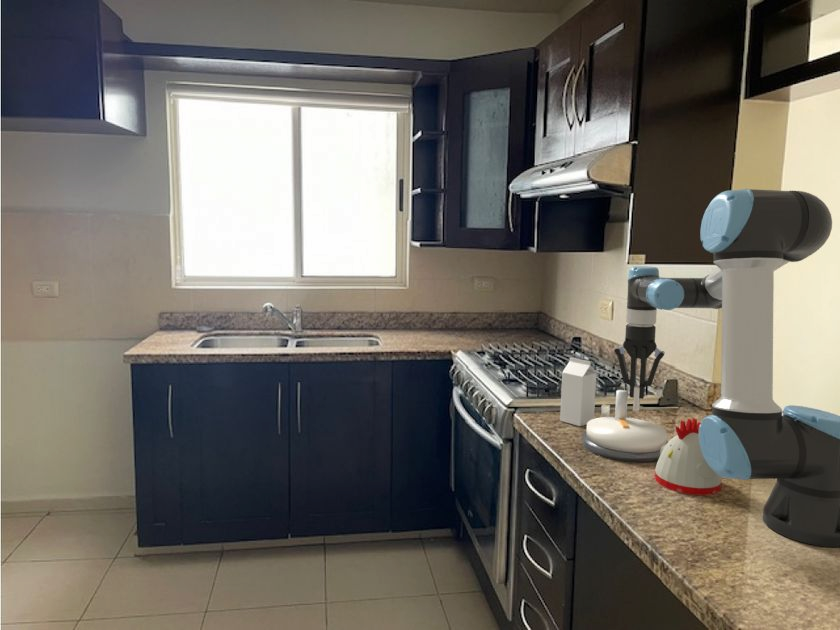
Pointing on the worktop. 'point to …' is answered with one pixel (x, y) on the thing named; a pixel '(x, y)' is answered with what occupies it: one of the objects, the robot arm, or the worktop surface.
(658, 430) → the dial
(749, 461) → the robot arm
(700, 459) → the kitchen timer
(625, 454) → the dial base
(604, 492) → the worktop surface
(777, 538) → the worktop surface
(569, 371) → the milk carton
